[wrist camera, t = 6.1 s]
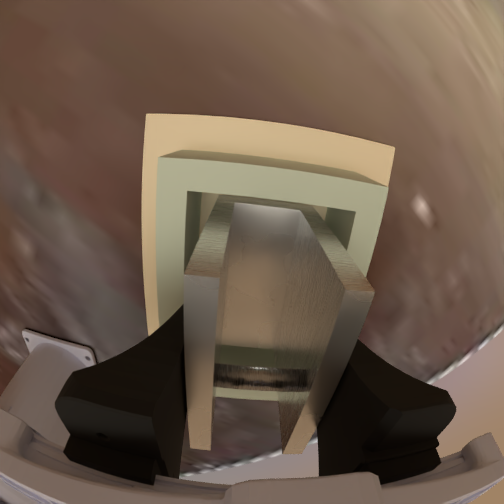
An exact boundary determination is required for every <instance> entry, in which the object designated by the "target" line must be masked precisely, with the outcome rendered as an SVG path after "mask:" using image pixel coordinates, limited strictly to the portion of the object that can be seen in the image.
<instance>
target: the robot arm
mask: <svg viewBox="0 0 504 504" xmlns="http://www.w3.org/2000/svg"><path fill="white" fill-rule="evenodd" d="M22 335H23V337H24V340H25V342H26V345H27V347H28V350H29V352H30V355H29V356H28V357H27V359H26V360H25V361H24V363H23V364H22V366H21V367H20V368H19V370H18V371H17V373H16V374H15V376H14V377H13V379H12V380H11V381H10V383H9V384H8V386H7V387H6V389H5V390H4V392H3V393H2V395H1V397H0V504H467V503H469V502H471V501H473V500H475V499H476V498H477V497H479V496H480V495H482V494H483V493H485V492H486V491H487V490H489V489H490V488H492V487H493V486H494V485H496V484H497V483H498V482H499V481H500V480H502V479H503V478H504V457H503V456H502V453H501V451H500V449H499V447H498V445H497V444H496V442H495V440H494V438H493V436H492V434H491V433H486V434H484V435H482V436H479V437H477V438H475V439H473V440H472V441H470V442H469V443H468V444H467V445H466V446H465V447H464V448H463V449H462V450H461V451H459V452H457V453H454V454H451V455H449V456H446V457H443V458H440V457H439V455H438V452H437V450H436V447H438V446H439V442H438V439H437V436H438V435H439V434H440V433H441V432H442V431H443V430H444V429H445V428H446V426H447V425H448V424H449V423H450V422H451V420H452V419H453V417H454V415H455V412H456V406H455V404H454V402H453V400H452V399H451V397H450V395H449V393H448V392H447V391H446V390H443V389H441V388H438V387H435V386H432V385H429V384H427V383H424V382H422V381H420V380H418V379H416V378H413V377H411V376H409V375H408V374H406V373H404V372H402V371H400V370H399V369H397V368H395V367H394V366H392V365H390V364H389V363H387V362H386V361H384V360H383V359H382V358H380V357H379V356H378V355H376V354H375V353H374V352H372V351H371V350H370V349H369V348H367V347H366V346H365V345H364V344H363V343H362V342H361V341H359V340H357V342H356V344H355V347H354V349H353V352H352V354H351V356H350V359H349V361H348V363H347V366H346V368H345V370H344V372H343V375H342V377H341V379H340V381H339V383H338V385H337V388H336V390H335V392H334V394H333V396H332V398H331V400H330V402H329V404H328V406H327V408H326V410H325V412H324V414H323V416H322V418H321V420H320V422H319V423H318V425H317V436H318V452H319V453H318V454H319V477H308V478H287V479H259V480H248V481H244V482H240V483H236V484H234V485H225V484H213V483H205V482H196V481H189V480H182V479H179V473H180V462H181V453H182V445H183V437H184V429H185V422H186V415H187V397H186V379H185V354H184V303H183V304H182V306H181V307H180V308H179V309H178V310H177V311H176V312H175V313H174V314H173V315H172V316H171V317H170V318H169V319H168V320H167V321H166V322H165V323H164V324H163V325H162V326H160V327H159V328H158V329H157V330H156V331H155V332H153V333H152V334H151V335H150V336H148V337H147V338H146V339H144V340H143V341H141V342H140V343H138V344H137V345H135V346H134V347H132V348H130V349H128V350H127V351H125V352H123V353H121V354H119V355H117V356H115V357H113V358H111V359H108V360H106V361H104V362H101V363H99V364H96V361H95V357H94V354H93V351H92V350H91V349H90V348H88V347H85V346H81V345H77V344H74V343H70V342H66V341H63V340H59V339H56V338H53V337H49V336H46V335H43V334H40V333H36V332H33V331H30V330H27V329H24V330H23V331H22Z"/></svg>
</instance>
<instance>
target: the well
mask: <svg viewBox="0 0 504 504" xmlns="http://www.w3.org/2000/svg"><path fill="white" fill-rule="evenodd" d="M394 152H395V147H392V146H388V145H384V144H381V143H377V142H373V141H369V140H365V139H361V138H356V137H352V136H348V135H343V134H338V133H334V132H329V131H324V130H318V129H313V128H307V127H301V126H295V125H289V124H282V123H275V122H268V121H260V120H251V119H242V118H232V117H220V116H205V115H185V114H146V124H145V136H144V151H143V172H142V255H143V276H144V291H145V304H146V315H147V326H148V335H149V336H150V335H151V334H152V333H153V332H155V331H156V330H157V329H158V328H159V327H160V326H162V325H163V324H164V323H165V322H166V321H167V320H168V319H169V318H170V317H171V316H172V315H173V314H174V313H175V312H176V311H177V310H178V309H179V308H180V307H181V306H182V304H183V303H184V272H185V270H186V268H187V265H188V263H189V261H190V258H191V256H192V254H193V251H194V249H195V247H196V244H197V242H198V240H199V238H200V235H201V233H202V231H203V229H204V226H205V224H206V222H207V220H208V218H209V215H210V213H211V211H212V209H213V207H214V204H215V202H216V200H217V198H218V196H219V195H228V196H238V197H247V198H256V199H264V200H273V201H281V202H289V203H296V204H303V205H311V206H313V207H314V208H315V210H316V211H317V212H318V213H319V215H320V216H321V217H322V219H323V220H324V221H325V223H326V224H327V225H328V227H329V228H330V229H331V231H332V232H333V233H334V235H335V236H336V237H337V239H338V240H339V241H340V243H341V244H342V245H343V247H344V248H345V249H346V251H347V252H348V254H349V255H350V256H351V258H352V259H353V261H354V262H355V263H356V265H357V266H358V268H359V269H360V270H361V272H362V273H363V275H364V276H365V278H366V274H367V271H368V268H369V264H370V261H371V257H372V254H373V250H374V247H375V243H376V239H377V235H378V232H379V228H380V224H381V220H382V216H383V211H384V207H385V203H386V198H387V194H388V189H389V187H388V184H389V179H390V174H391V168H392V163H393V157H394ZM220 363H223V364H233V365H244V366H257V367H273V368H275V363H274V353H273V349H265V348H252V347H241V346H230V345H221V354H220ZM216 396H218V397H228V398H240V399H254V400H275V401H278V396H277V391H258V390H243V389H231V388H221V387H217V390H216Z"/></svg>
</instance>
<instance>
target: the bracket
mask: <svg viewBox="0 0 504 504" xmlns="http://www.w3.org/2000/svg"><path fill="white" fill-rule="evenodd" d="M374 294H375V291H374V289H373V288H372V286H371V285H370V283H369V282H368V280H367V279H366V278H365V276H364V275H363V273H362V272H361V270H360V269H359V268H358V266H357V265H356V263H355V262H354V261H353V259H352V258H351V256H350V255H349V254H348V252H347V251H346V249H345V248H344V247H343V245H342V244H341V243H340V241H339V240H338V239H337V237H336V236H335V235H334V233H333V232H332V231H331V229H330V228H329V227H328V225H327V224H326V223H325V221H324V220H323V219H322V217H321V216H320V215H319V213H318V212H317V211H316V210H315V208H314V207H313V206H311V205H303V204H296V203H289V202H281V201H273V200H264V199H256V198H247V197H238V196H228V195H219V196H218V198H217V200H216V202H215V204H214V207H213V209H212V211H211V213H210V215H209V218H208V220H207V222H206V224H205V226H204V229H203V231H202V233H201V235H200V238H199V240H198V242H197V244H196V247H195V249H194V251H193V254H192V256H191V258H190V261H189V263H188V265H187V268H186V270H185V272H184V354H185V379H186V397H187V413H188V426H189V438H190V448H194V449H202V450H210V449H211V439H212V429H213V419H214V409H215V400H216V390H217V387H221V388H231V389H243V390H258V391H277V396H278V407H279V419H280V430H281V442H282V454H302V452H303V450H304V449H305V447H306V445H307V443H308V442H309V440H310V438H311V436H312V435H313V433H314V431H315V429H316V427H317V425H318V423H319V422H320V420H321V418H322V416H323V414H324V412H325V410H326V408H327V406H328V404H329V402H330V400H331V398H332V396H333V394H334V392H335V390H336V388H337V385H338V383H339V381H340V379H341V377H342V375H343V372H344V370H345V368H346V366H347V363H348V361H349V359H350V356H351V354H352V352H353V349H354V347H355V344H356V342H357V340H358V337H359V335H360V332H361V330H362V327H363V324H364V322H365V319H366V316H367V314H368V311H369V308H370V306H371V303H372V300H373V297H374ZM221 345H230V346H241V347H252V348H265V349H273V353H274V363H275V368H273V367H257V366H244V365H233V364H223V363H220V354H221Z"/></svg>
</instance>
